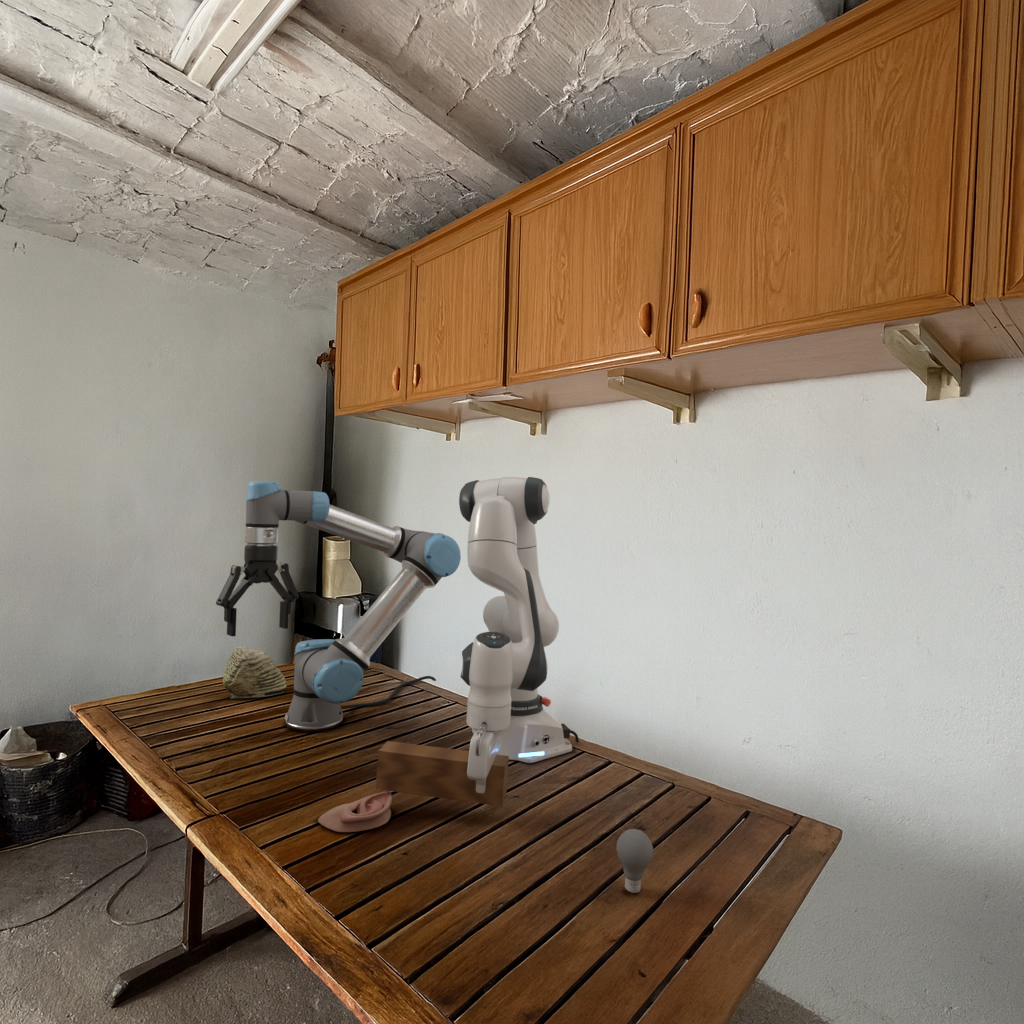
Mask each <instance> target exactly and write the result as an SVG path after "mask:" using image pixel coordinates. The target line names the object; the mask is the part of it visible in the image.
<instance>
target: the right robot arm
mask: <svg viewBox="0 0 1024 1024" xmlns="http://www.w3.org/2000/svg"><path fill="white" fill-rule="evenodd" d="M550 502H551V497H550V492H549V490H548V486H547V484H546V482H545V481H544V480H543V479H542V478H539V477H534V476H527V477H519V476H503V477H499V478H489V479H483V480H478V479H476V480H472V481H468V482H466V483H465V484H464V485H463V486H462V488H461V489H460V491H459V496H458V505H459V511H460V514H461V516H462V517H463V519H464V520H465V521H466V522H468V523H469V526H468V533H467V534H468V536H467V548H466V549H467V553H466V554H467V565H468V568H469V571H470V572H471V573H472V575H473V576H474V578H476V579H477V580H479V581H480V582H481V583H483V584H484V585H486V586H489V587H491V588H493V589H495V590H498V591H500V592H502V593H503V594H504V595H499V596H494V597H492V598H490V599H489V600H488V601H487V602H486V604H485V605H484V607H483V611H482V619H483V623H484V624H485V627H486V628H487V630H488V631H484V632H480V633H478V634H477V635H476V636H475V637H474V640H473V641H472V642H470V643H469V644H468V645H466V647H465V648H464V649H463V650H462V651H461V657H462V667H461V672H460V676H459V677H460V678H461V680H463V681H464V683H465V684H466V685H467V686H468V687H470V688H469V692H468V696H467V701H466V702H467V703H466V719H465V721H466V722H465V723H466V725H467V726H468V727H469V728H471V733H472V736H471V739H470V743H469V749H468V751H469V757H468V768H467V776H468V778H469V779H472V780H476V792H477V793H484V792H485V790H486V778H487V776H488V773H489V771H490V769H491V767H492V764H493V762H494V760H495V757H496V755H504V756H509V761H510V760H511V761H519V762H523V763H527V764H533V763H536V762H540V761H543V760H546V759H551V758H553V757H557V756H560V755H563V754H567V753H571V752H573V745H572V743H571V741H570V740H568V739H570V738H571V734H572V735H573V736H574V738H575V743H576V744H577V743H579V742H580V740H579V735H578V733H577V732H575V730H572V729H570V728H569V727H568V726H567V725H566V724H565V723H561V722H560V721H559V720H558V719H556V717H554V716H553V715H552V714H551V713H550V712H548V711H547V710H546V709H545V708H544V707H547V708H548V707H550V706H551V704H552V700H551V699H550V698H548V697H546V696H542V695H540V694H539V687H541V686H542V685H543V684H544V683H545V682H546V680H547V676H548V672H549V671H548V669H549V663H548V659H547V655H546V650H545V648H546V647H548V646H550V645H552V644H553V642H554V641H555V640H556V638H557V637H558V635H559V630H560V621H559V619H558V616H557V615H556V612H554V611H553V609H552V607H551V605H550V604H549V602H548V599H547V597H546V594H545V590H544V588H543V585H542V581H541V576H540V570H539V558H538V540H537V531H536V527H535V525H536V524H537V523H538V521H540V520H542V519H543V518H544V517H546V515H547V514H548V510H549V507H550ZM478 755H479V756H478Z"/></svg>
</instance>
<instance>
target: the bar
mask: <svg viewBox="0 0 1024 1024" xmlns="http://www.w3.org/2000/svg"><path fill="white" fill-rule="evenodd" d="M478 756H479V755H478ZM468 757H469V750H463V749H456V748H448V747H447V748H446V747H439V746H433V745H431V746H430V745H423V744H417V743H407V742H400V741H390V740H387V741H386V742H384V744H383V745H382V746H381V747H380V748H379V749H378V751H377V763H376V778H375V779H376V780H375V790H380V791H388V792H395V793H402V794H409V795H416V796H424V797H431V798H437V799H439V798H440V799H445V800H453V801H461V802H468V803H473V804H474V803H475V804H483V805H489V806H496V807H503V805H504V802H505V799H506V796H507V791H508V788H507V787H508V778H509V777H508V775H509V763H510V762H509V761H510V759H509V756H504V755H496V757H495V760H494V762H493V764H492V767H491V769H490V771H489V773H488V776H487V778H486V790H485V792H484V793H477V792H476V780H472V779H469V778H468V776H467V768H468Z"/></svg>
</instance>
